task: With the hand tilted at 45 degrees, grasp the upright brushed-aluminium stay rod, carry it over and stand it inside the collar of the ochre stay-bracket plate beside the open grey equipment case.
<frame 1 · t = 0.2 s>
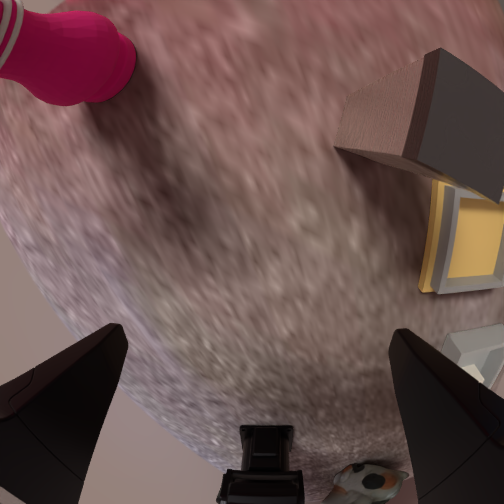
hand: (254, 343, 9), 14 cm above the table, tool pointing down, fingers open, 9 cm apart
stay bracket: (469, 234, 21), on the table
stay rod: (365, 130, 19), on the table
equipment case: (460, 367, 27), on the table
pepper mill: (105, 67, 18), on the table
lucky cat figurine: (359, 473, 37), on the table
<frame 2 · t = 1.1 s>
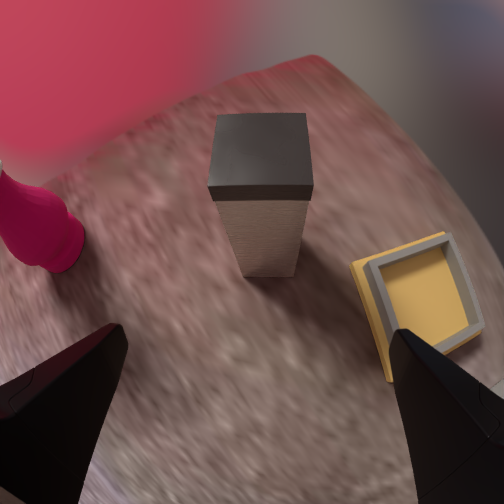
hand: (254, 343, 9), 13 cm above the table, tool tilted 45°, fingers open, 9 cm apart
stay bracket: (419, 303, 21), on the table
stay rod: (268, 253, 24), on the table
pepper mill: (63, 245, 26), on the table
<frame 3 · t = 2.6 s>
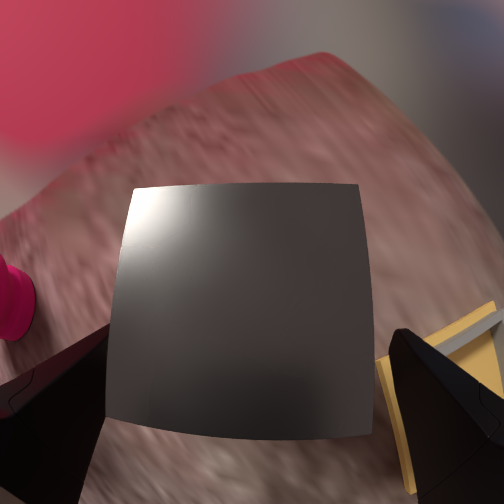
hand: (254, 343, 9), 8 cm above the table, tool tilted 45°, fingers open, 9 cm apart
stay bracket: (455, 397, 14), on the table
stay rod: (264, 345, 16), on the table
pepper mill: (15, 306, 19), on the table
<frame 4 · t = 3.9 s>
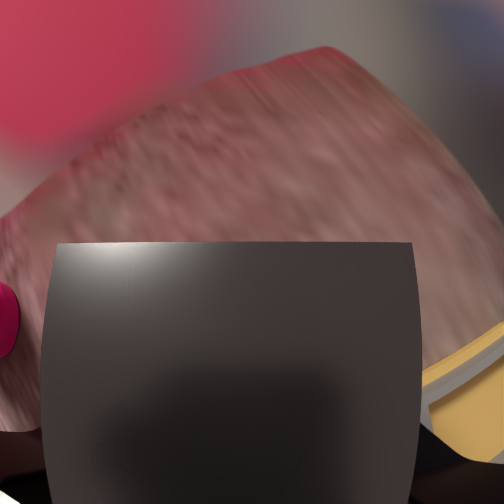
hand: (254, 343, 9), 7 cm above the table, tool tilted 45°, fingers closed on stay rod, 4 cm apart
stay bracket: (465, 423, 12), on the table
stay rod: (261, 375, 14), on the table, touching gripper
pepper mill: (1, 321, 17), on the table
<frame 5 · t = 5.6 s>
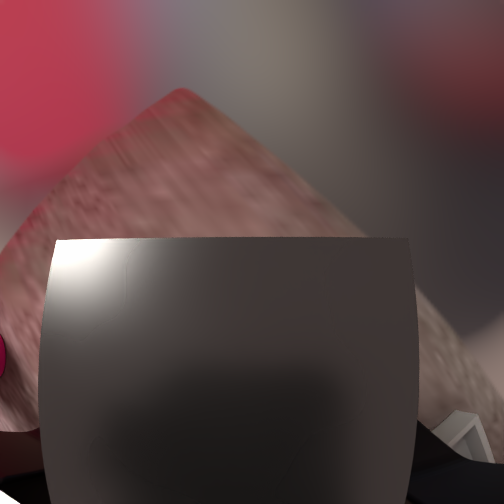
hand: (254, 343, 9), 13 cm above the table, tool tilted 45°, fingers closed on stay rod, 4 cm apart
stay rod: (261, 374, 14), point 7 cm above the table, touching gripper
equipment case: (437, 483, 15), on the table
when the fingers open (8 cm above the table, at t = 7.3 s): stay rod stays where it is, resting on stay bracket.
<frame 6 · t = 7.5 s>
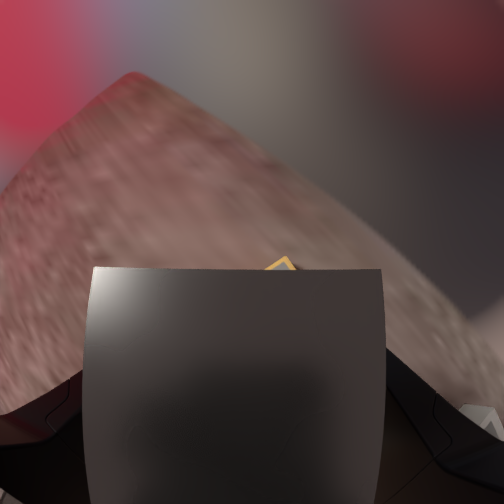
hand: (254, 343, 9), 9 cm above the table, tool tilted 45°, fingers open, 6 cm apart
stay rod: (262, 373, 15), point 1 cm above the table, touching stay bracket
equipment case: (447, 493, 11), on the table
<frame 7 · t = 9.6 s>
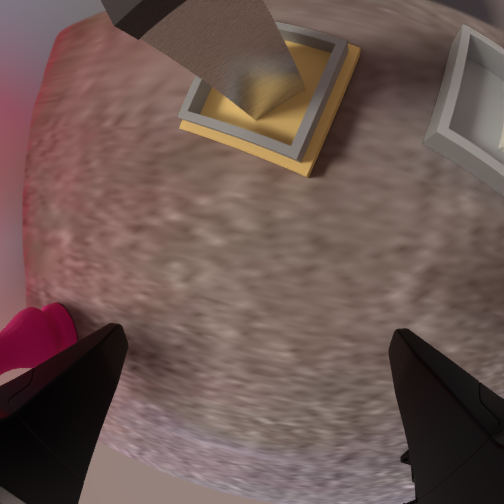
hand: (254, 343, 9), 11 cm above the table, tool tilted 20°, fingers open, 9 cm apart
stay bracket: (269, 88, 18), on the table
stay rod: (265, 83, 17), point 1 cm above the table, touching stay bracket
pepper mill: (64, 325, 30), on the table
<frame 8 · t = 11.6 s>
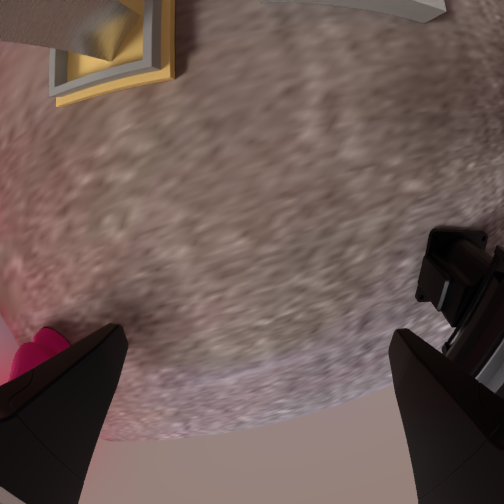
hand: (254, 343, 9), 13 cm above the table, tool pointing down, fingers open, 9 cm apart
stay bracket: (113, 33, 15), on the table
stay rod: (106, 31, 14), point 1 cm above the table, touching stay bracket
pepper mill: (58, 345, 29), on the table
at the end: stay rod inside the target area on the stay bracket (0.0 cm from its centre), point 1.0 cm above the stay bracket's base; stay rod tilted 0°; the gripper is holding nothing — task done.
